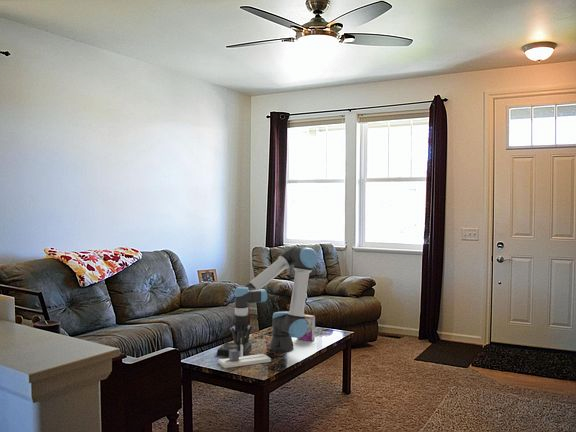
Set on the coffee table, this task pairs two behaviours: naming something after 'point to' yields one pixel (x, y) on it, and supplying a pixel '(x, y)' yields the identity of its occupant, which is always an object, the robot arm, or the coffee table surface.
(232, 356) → the fader knob
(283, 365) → the coffee table surface
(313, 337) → the candy bar box
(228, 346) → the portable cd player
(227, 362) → the board
